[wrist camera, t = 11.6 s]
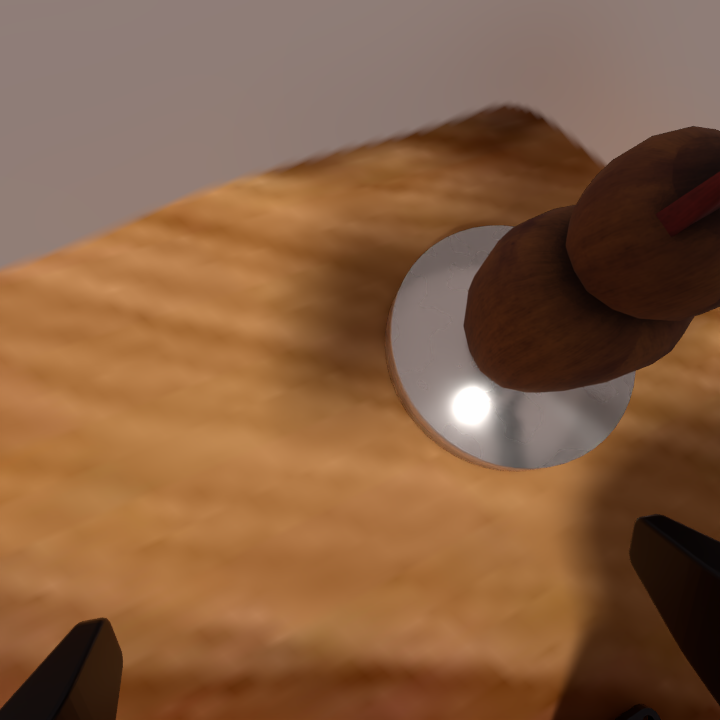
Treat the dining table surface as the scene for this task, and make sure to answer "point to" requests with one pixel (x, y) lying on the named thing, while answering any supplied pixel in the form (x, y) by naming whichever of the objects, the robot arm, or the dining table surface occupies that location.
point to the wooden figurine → (604, 272)
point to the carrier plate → (470, 386)
